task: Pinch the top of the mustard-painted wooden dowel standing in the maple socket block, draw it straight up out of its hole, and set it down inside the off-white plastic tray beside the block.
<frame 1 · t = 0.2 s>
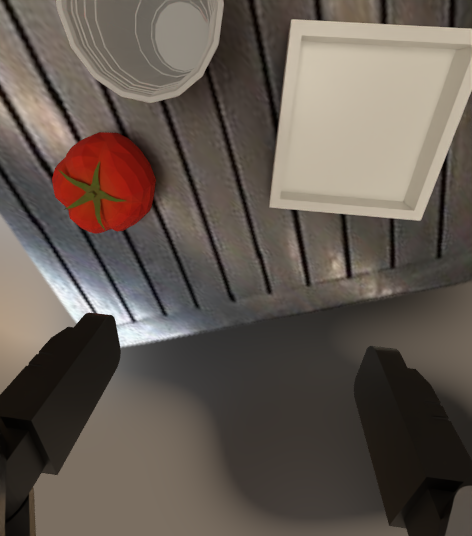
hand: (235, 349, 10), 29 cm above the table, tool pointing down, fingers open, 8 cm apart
tray: (354, 128, 32), on the table
plastic cup: (184, 36, 29), on the table
tomato: (123, 175, 37), on the table
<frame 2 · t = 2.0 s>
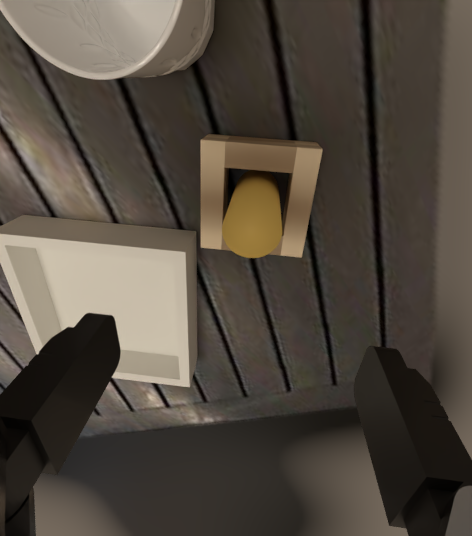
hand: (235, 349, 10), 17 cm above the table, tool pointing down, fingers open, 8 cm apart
dowel: (254, 208, 21), in the socket block
socket block: (256, 191, 24), on the table
tray: (120, 294, 31), on the table
white cup: (164, 10, 19), on the table
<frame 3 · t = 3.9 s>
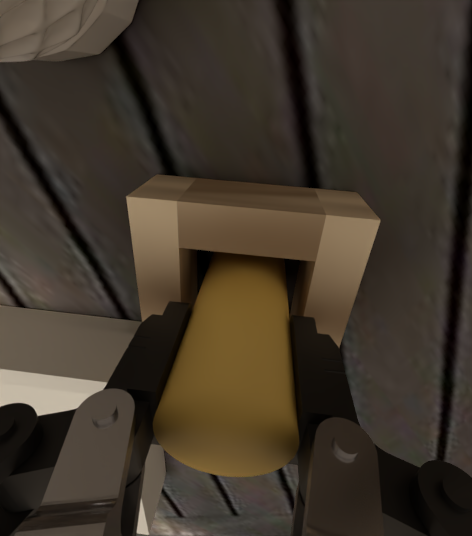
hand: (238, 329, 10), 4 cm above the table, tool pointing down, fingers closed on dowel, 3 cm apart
dowel: (239, 326, 11), in the socket block, touching gripper
socket block: (246, 269, 14), on the table
tray: (46, 397, 21), on the table
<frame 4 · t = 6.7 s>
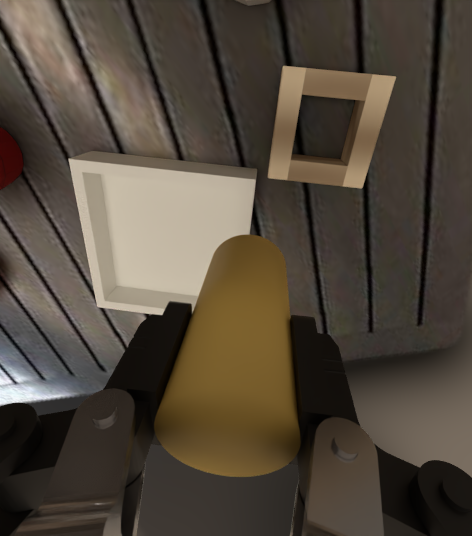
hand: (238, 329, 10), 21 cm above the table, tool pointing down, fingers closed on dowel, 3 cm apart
dowel: (240, 326, 11), point 21 cm above the table, touching gripper
socket block: (320, 127, 26), on the table
tray: (175, 235, 33), on the table
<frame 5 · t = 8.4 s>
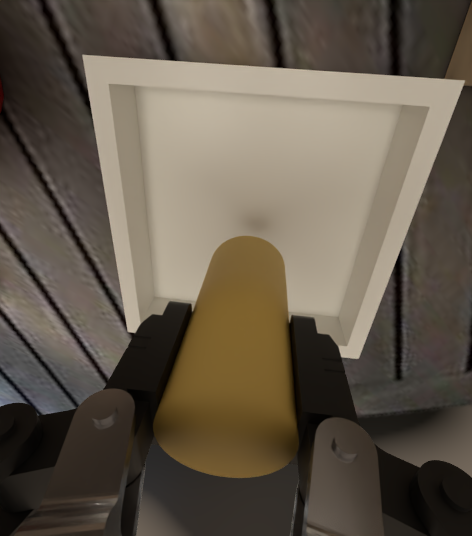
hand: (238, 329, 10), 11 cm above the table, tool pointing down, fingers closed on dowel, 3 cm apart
dowel: (239, 327, 11), point 11 cm above the table, touching gripper
tray: (254, 214, 20), on the table
when the fingers open (6 cm above the table, at t = 9.8 s): dowel stays where it is, resting on tray.
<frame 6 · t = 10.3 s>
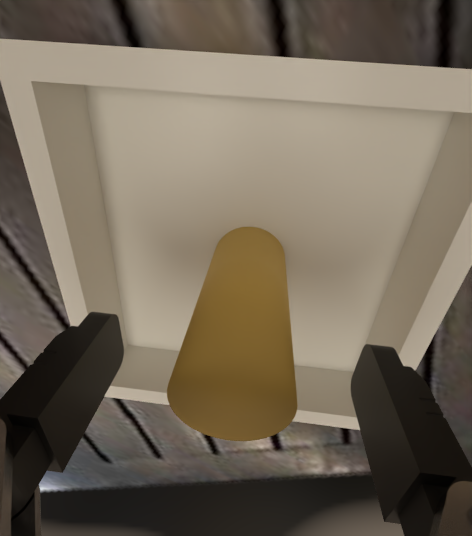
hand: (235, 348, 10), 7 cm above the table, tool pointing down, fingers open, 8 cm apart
dowel: (242, 309, 11), in the tray, point 5 cm above the table
tray: (249, 249, 16), on the table
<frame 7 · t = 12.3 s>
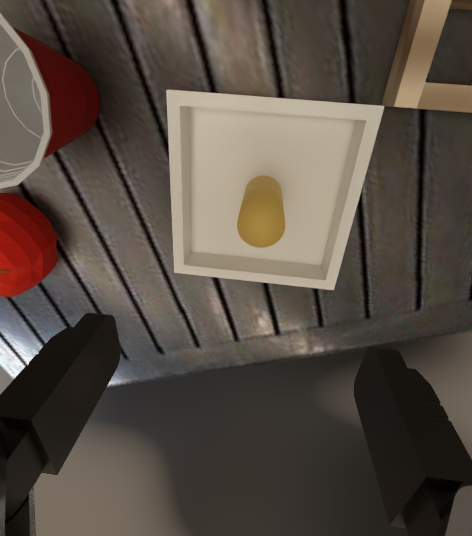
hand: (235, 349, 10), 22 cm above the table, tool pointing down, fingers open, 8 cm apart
dowel: (262, 207, 25), in the tray, point 5 cm above the table
socket block: (451, 49, 23), on the table
tray: (262, 190, 30), on the table
plastic cup: (72, 94, 27), on the table
tomato: (30, 229, 35), on the table
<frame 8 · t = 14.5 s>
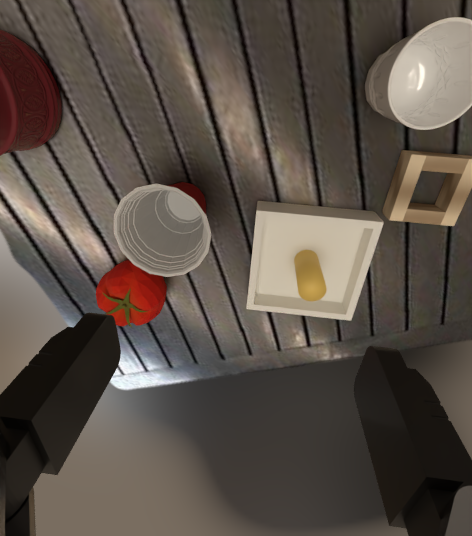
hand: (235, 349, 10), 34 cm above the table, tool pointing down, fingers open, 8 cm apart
dowel: (308, 273, 41), in the tray, point 5 cm above the table
canister: (15, 93, 38), on the table
socket block: (423, 185, 39), on the table
tray: (305, 256, 46), on the table
plastic cup: (187, 200, 43), on the table
white cup: (395, 81, 34), on the table
tomato: (142, 276, 51), on the table
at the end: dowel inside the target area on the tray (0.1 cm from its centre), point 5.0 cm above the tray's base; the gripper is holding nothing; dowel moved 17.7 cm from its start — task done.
